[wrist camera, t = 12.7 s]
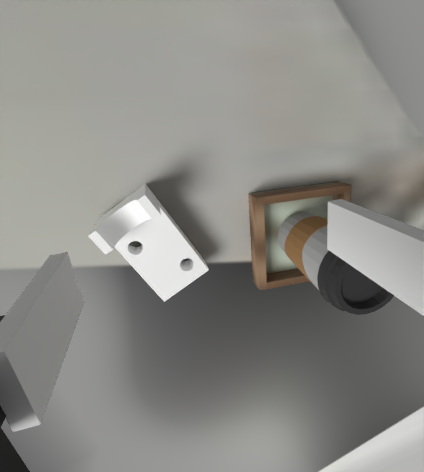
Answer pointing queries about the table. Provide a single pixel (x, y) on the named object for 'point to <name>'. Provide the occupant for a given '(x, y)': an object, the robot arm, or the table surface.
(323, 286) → the coffee cup
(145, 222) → the bracket
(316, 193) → the cup dock
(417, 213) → the table surface
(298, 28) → the table surface
